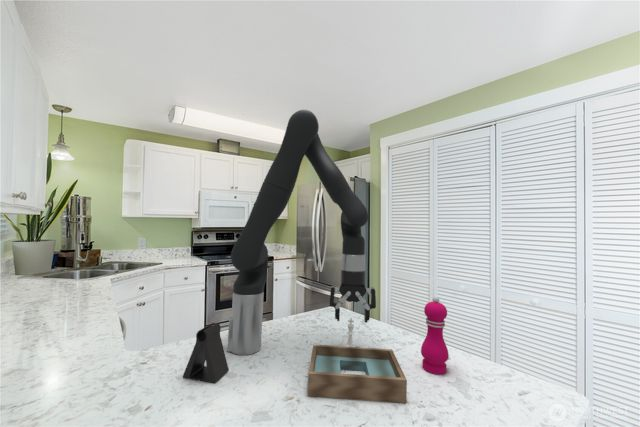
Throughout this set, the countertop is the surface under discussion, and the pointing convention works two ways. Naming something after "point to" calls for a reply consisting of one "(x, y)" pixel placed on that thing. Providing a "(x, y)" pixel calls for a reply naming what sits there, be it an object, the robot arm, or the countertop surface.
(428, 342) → the pepper mill
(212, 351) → the phone stand
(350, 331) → the chess piece
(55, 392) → the countertop surface
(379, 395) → the box
